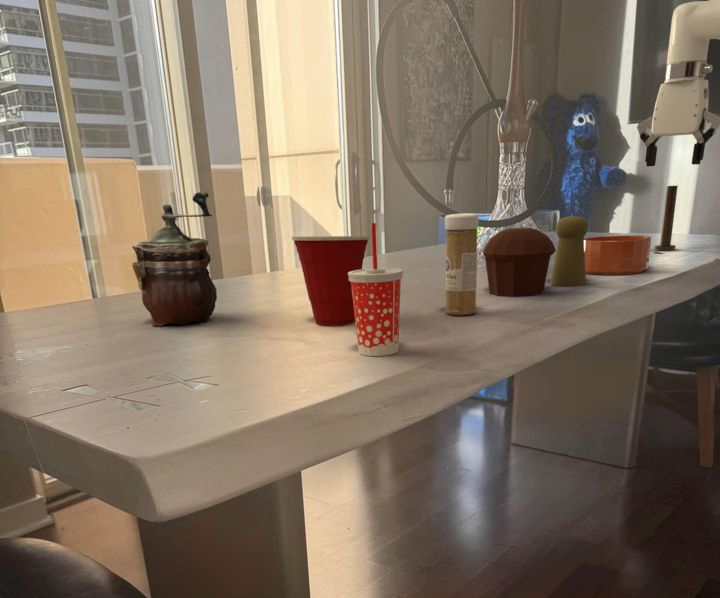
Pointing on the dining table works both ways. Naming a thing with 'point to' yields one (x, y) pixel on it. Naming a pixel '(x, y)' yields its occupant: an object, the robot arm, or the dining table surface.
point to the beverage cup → (376, 306)
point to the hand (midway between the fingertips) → (672, 165)
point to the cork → (570, 252)
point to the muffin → (518, 262)
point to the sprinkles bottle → (461, 263)
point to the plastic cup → (331, 275)
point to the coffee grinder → (176, 272)
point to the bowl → (616, 254)
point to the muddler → (667, 221)
